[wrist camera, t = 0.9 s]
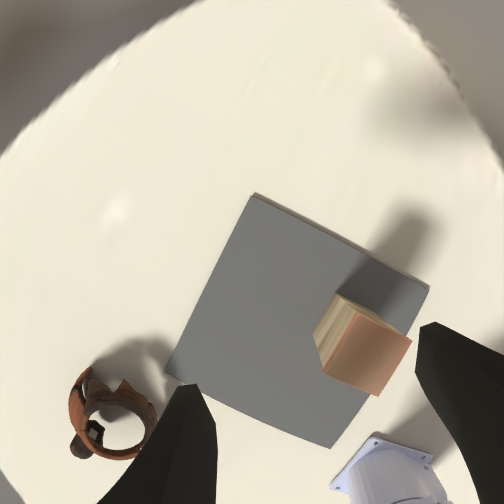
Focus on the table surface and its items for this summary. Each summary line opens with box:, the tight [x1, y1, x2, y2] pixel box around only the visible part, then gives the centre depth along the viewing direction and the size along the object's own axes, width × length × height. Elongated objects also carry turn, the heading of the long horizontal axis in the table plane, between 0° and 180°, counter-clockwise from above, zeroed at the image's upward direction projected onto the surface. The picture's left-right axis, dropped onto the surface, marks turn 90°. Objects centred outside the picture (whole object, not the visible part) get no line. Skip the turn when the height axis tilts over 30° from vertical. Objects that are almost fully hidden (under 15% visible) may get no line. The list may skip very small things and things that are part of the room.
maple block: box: [313, 292, 412, 397], centre depth 22 cm, size 4×4×9 cm
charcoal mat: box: [165, 196, 429, 449], centre depth 27 cm, size 18×18×1 cm
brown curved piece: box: [68, 367, 158, 460], centre depth 27 cm, size 12×10×8 cm
